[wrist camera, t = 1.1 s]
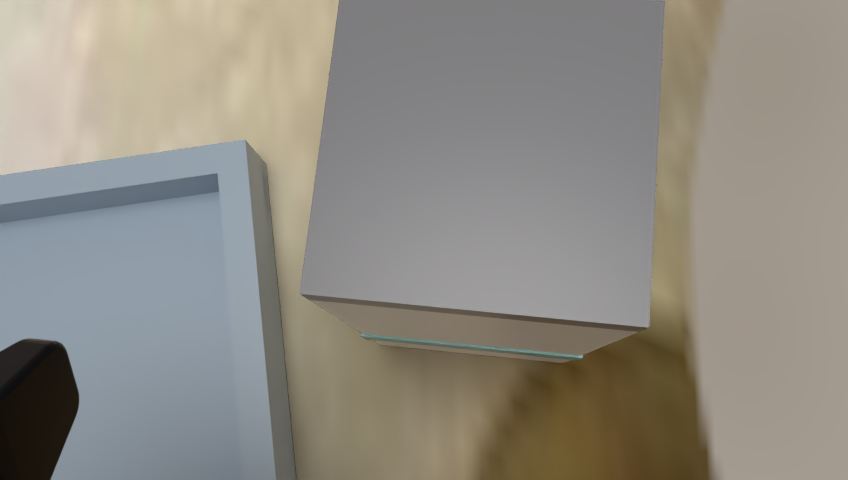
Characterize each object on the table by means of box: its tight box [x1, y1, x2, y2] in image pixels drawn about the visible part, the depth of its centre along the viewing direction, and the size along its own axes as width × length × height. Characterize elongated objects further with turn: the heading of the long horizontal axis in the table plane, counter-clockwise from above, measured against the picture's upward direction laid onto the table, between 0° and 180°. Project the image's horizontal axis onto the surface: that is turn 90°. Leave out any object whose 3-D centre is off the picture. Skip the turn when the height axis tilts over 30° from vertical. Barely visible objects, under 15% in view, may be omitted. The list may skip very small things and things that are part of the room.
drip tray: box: [0, 140, 296, 480], centre depth 21 cm, size 12×12×2 cm
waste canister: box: [300, 0, 665, 363], centre depth 17 cm, size 5×5×10 cm
